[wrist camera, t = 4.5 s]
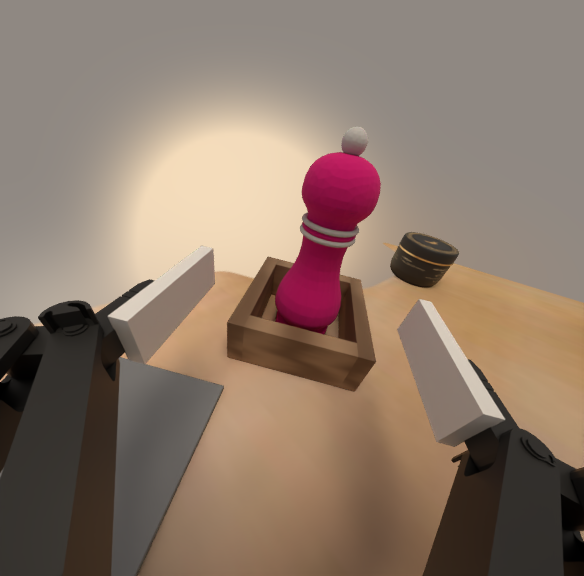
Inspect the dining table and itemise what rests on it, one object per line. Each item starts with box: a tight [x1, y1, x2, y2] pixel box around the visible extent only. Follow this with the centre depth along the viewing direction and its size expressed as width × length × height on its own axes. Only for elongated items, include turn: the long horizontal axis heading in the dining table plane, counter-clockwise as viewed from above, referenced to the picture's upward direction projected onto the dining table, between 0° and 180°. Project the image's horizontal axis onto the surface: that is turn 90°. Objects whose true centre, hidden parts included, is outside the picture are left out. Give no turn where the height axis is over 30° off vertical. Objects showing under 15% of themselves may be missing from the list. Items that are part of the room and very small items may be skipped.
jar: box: [390, 232, 459, 287], centre depth 41 cm, size 10×10×8 cm
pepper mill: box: [275, 127, 381, 334], centre depth 20 cm, size 7×7×20 cm
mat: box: [0, 357, 224, 576], centre depth 13 cm, size 13×13×1 cm
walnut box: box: [227, 257, 376, 391], centre depth 24 cm, size 13×13×5 cm
